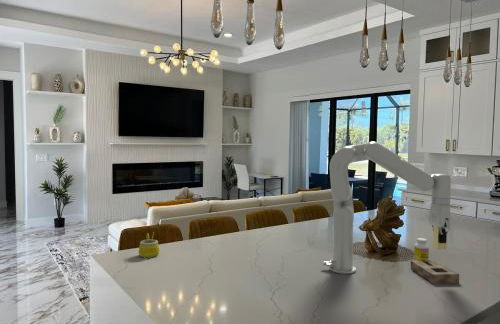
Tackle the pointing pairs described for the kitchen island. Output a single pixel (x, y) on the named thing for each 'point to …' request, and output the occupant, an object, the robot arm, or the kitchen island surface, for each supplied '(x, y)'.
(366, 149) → the robot arm
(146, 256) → the yellow pot
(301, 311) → the kitchen island surface
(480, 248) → the kitchen island surface
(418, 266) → the socket block
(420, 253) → the supplement bottle
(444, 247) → the peg
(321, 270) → the kitchen island surface
